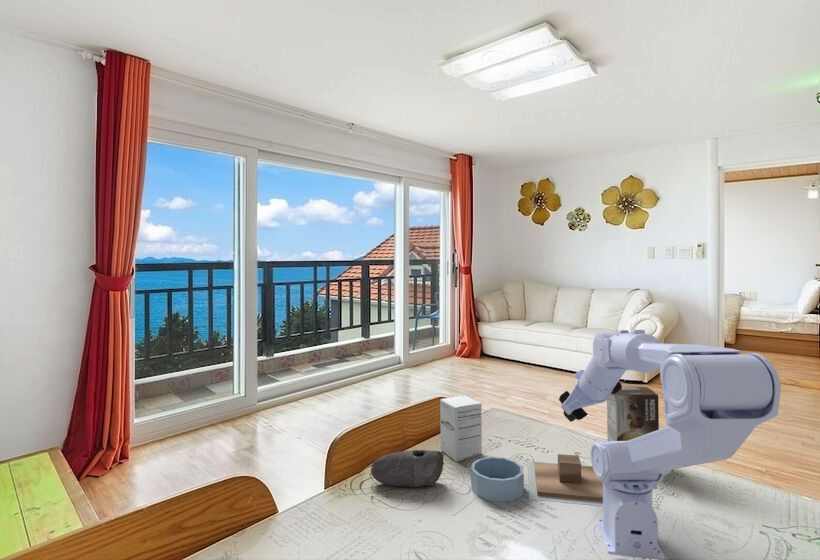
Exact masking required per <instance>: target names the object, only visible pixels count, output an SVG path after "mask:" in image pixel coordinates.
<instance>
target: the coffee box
mask: <svg viewBox="0 0 820 560" xmlns="http://www.w3.org/2000/svg"><path fill="white" fill-rule="evenodd" d="M659 407H660V405H659V394H658V393H657V392H654V390H653V389H651V388H649V387H647V386H622V388H621V390H620V391H618V392H617V393H616V394H610V396H609V398H608V399H607V400H606V430H607V431H606V434H607V439H606V441H629V440H631V439H634V438H637V437H640V436H643V435H645V434H648V433H651V432H654V431H656V430H659V429H660V426H659V425H660V419H659V410H660V409H659Z"/></svg>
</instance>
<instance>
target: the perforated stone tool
mask: <svg viewBox="0 0 820 560" xmlns="http://www.w3.org/2000/svg"><path fill="white" fill-rule="evenodd" d="M444 454H445V453H444V452H442V451H440V450H427V449H415V450H414V449H412V450H404V451H403V450H401V451H397V452H392V453H389V454H388V453H387V454H384V455H381V456H380V457H378V458H376V459H375V460H374V461H373V462H372V464H371V468H370V473H371V476H372V478H373V479H374V480H376V481H377V482H378V483H380V484H383V485H386V486H387V485H388V486H399V487H403V488H418V487H420V488H421V487H424V486H427V487H434V485H436V483H437V481H438V480H439V479H440V477H441V475H442V473H443V470H444V465H445V462H444V457H445V455H444Z"/></svg>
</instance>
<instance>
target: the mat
mask: <svg viewBox="0 0 820 560" xmlns="http://www.w3.org/2000/svg"><path fill="white" fill-rule="evenodd" d="M534 462H535V461H531V462H530V461H526V469H527V480H528V481H527V484H528V494H529V495H528V496H529V497H528V498H529V500H533V501H534V500H535V501H546V502H553V503H554V502H555V503H563V504H564V503H565V504H567V503H568V504H575V505H585V506H594V507H603V502H597V501H587V500H577V499H567V498H556V497H546V496H537V487H536V477H535V468H534Z"/></svg>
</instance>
